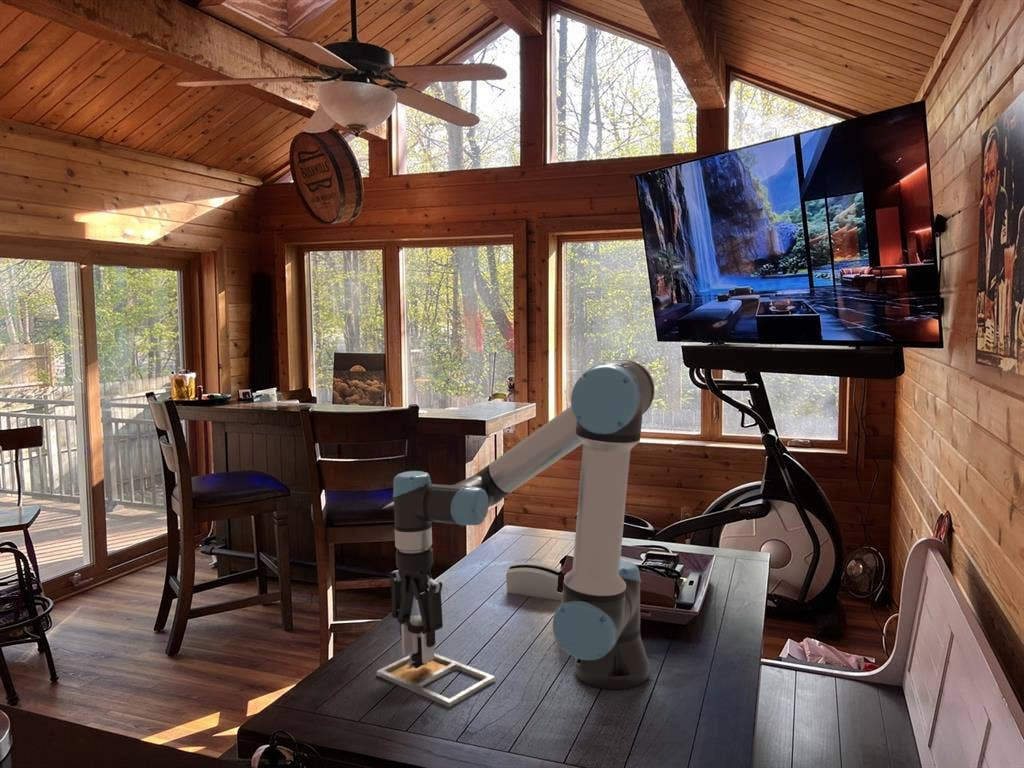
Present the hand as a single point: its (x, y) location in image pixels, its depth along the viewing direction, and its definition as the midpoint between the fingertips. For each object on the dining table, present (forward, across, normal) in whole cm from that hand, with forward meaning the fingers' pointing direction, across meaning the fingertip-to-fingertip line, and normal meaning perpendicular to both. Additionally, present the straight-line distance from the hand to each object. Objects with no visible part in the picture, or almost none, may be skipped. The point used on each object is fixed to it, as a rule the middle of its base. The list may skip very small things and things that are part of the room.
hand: (418, 656), depth 159 cm
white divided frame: (+3, -5, 0) cm, 6 cm away
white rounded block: (+4, +7, -48) cm, 49 cm away
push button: (+2, 0, 0) cm, 2 cm away
